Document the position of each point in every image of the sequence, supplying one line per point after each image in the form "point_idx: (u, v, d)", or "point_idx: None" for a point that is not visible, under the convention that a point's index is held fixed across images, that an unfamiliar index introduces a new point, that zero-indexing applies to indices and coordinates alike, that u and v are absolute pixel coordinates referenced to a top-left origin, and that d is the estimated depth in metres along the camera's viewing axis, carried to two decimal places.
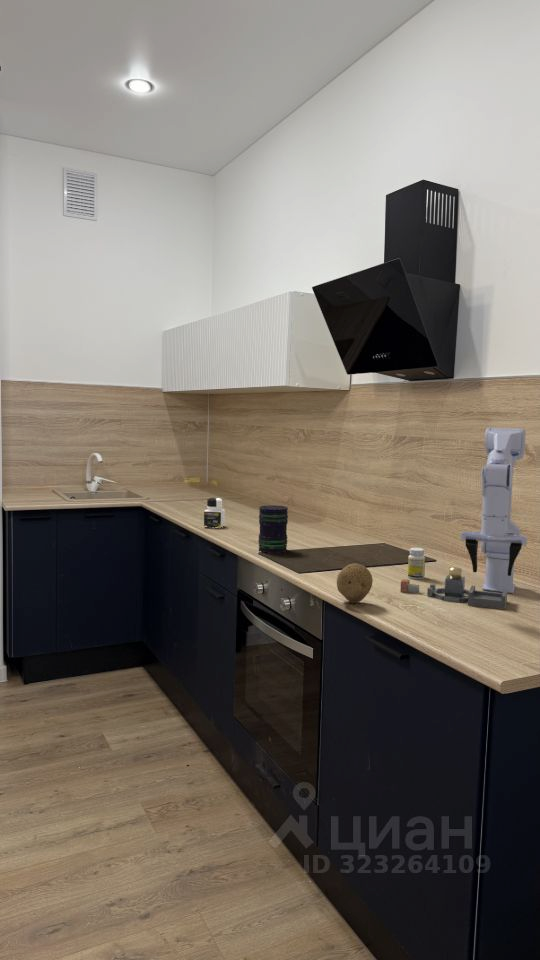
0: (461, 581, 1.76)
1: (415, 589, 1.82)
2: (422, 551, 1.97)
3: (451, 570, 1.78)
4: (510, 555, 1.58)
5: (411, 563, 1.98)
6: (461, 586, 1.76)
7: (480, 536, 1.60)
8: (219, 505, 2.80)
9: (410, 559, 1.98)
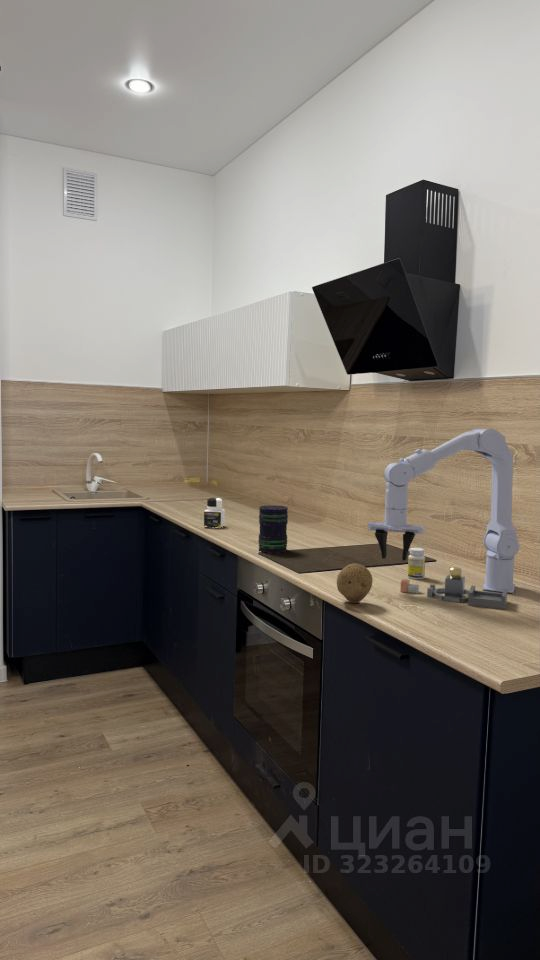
0: (461, 581, 1.76)
1: (415, 589, 1.82)
2: (422, 551, 1.97)
3: (451, 570, 1.78)
4: (404, 542, 1.81)
5: (411, 563, 1.98)
6: (461, 586, 1.76)
7: (383, 526, 1.82)
8: (219, 505, 2.80)
9: (410, 559, 1.98)
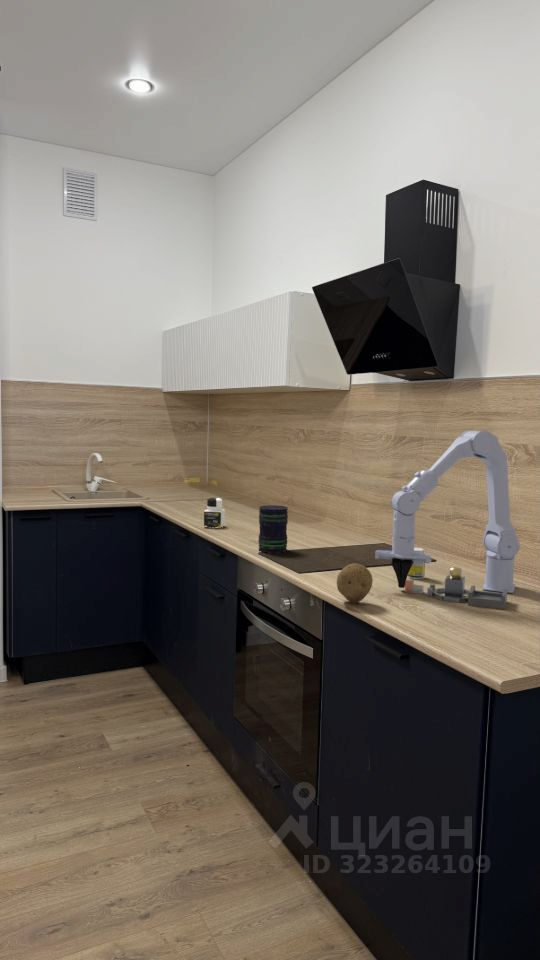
0: (461, 581, 1.76)
1: (420, 590, 1.81)
2: (422, 551, 1.97)
3: (451, 570, 1.78)
4: (402, 570, 1.82)
5: None
6: (461, 586, 1.76)
7: (390, 555, 1.82)
8: (219, 505, 2.80)
9: None
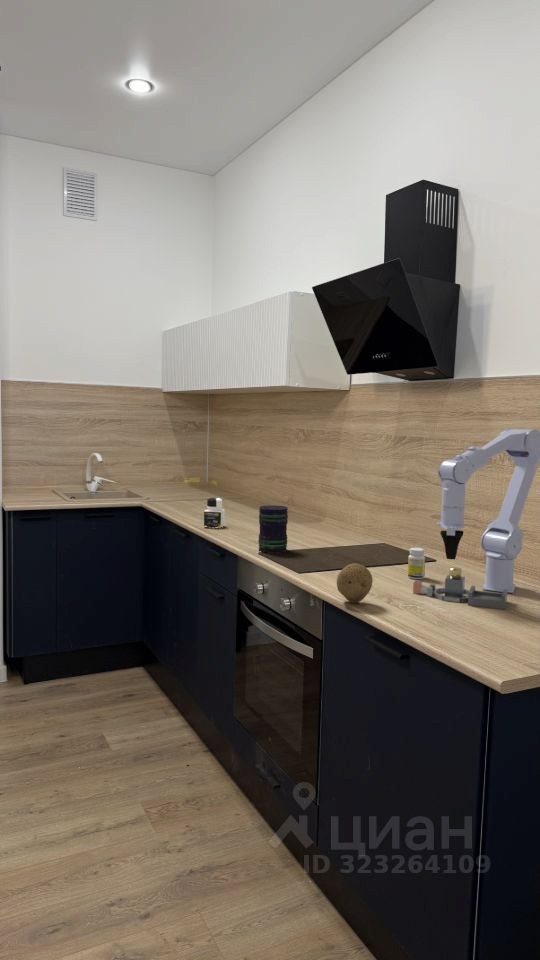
0: (461, 581, 1.76)
1: None
2: (422, 551, 1.97)
3: (451, 570, 1.78)
4: None
5: (411, 563, 1.98)
6: (461, 586, 1.76)
7: None
8: (219, 505, 2.80)
9: (410, 559, 1.98)
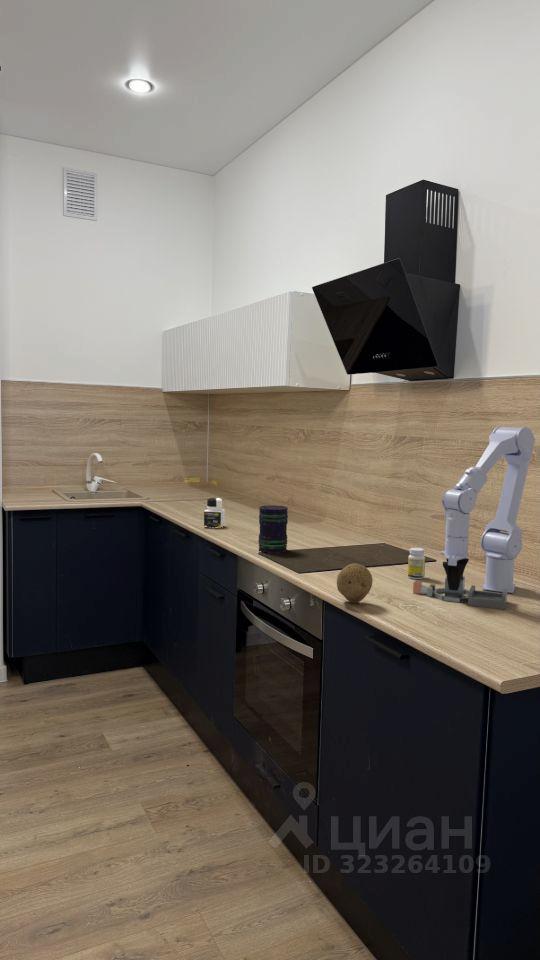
0: (461, 581, 1.76)
1: None
2: (422, 551, 1.97)
3: None
4: None
5: (411, 563, 1.98)
6: (461, 586, 1.76)
7: None
8: (219, 505, 2.80)
9: (410, 559, 1.98)
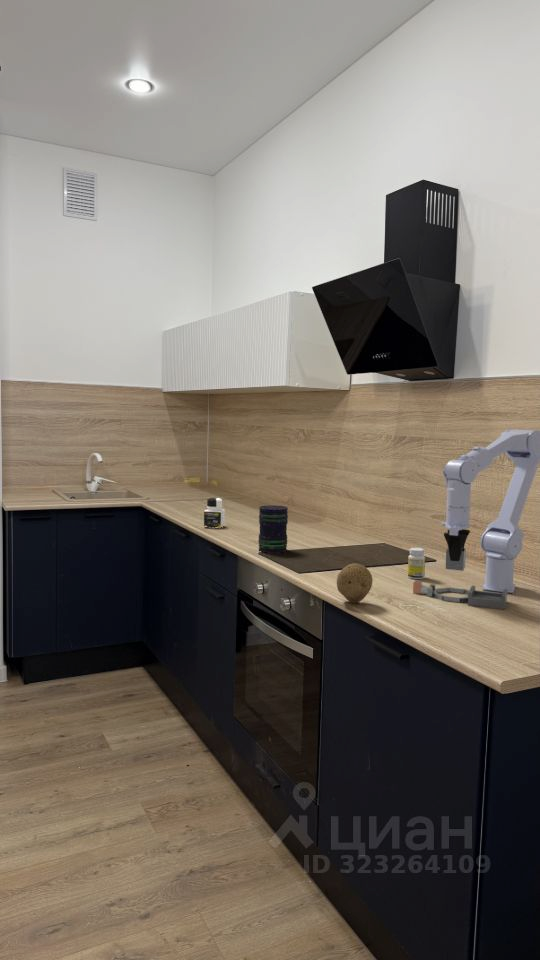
0: (462, 552, 1.75)
1: None
2: (422, 551, 1.97)
3: None
4: None
5: (411, 563, 1.98)
6: (462, 557, 1.75)
7: None
8: (219, 505, 2.80)
9: (410, 559, 1.98)
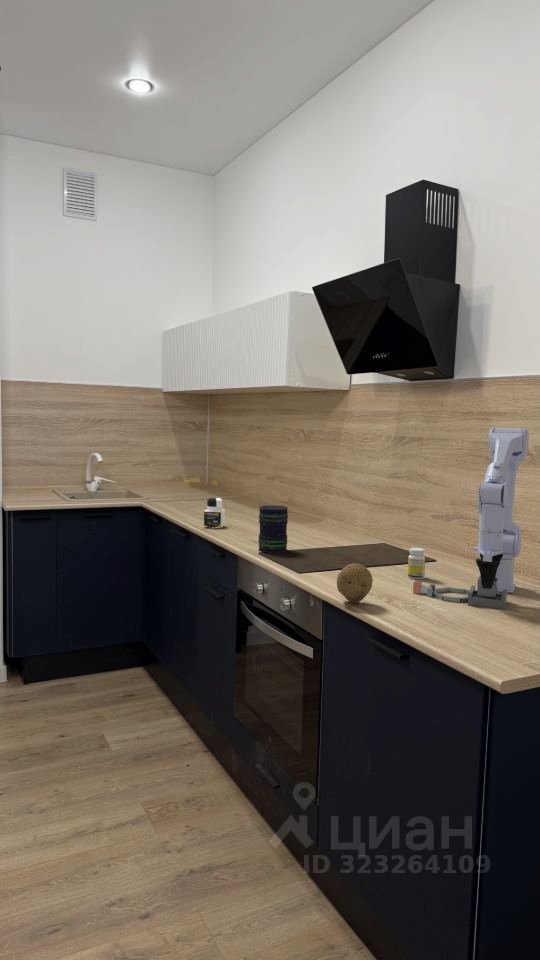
0: (494, 582, 1.70)
1: None
2: (422, 551, 1.97)
3: None
4: None
5: (411, 563, 1.98)
6: (494, 587, 1.70)
7: None
8: (219, 505, 2.80)
9: (410, 559, 1.98)
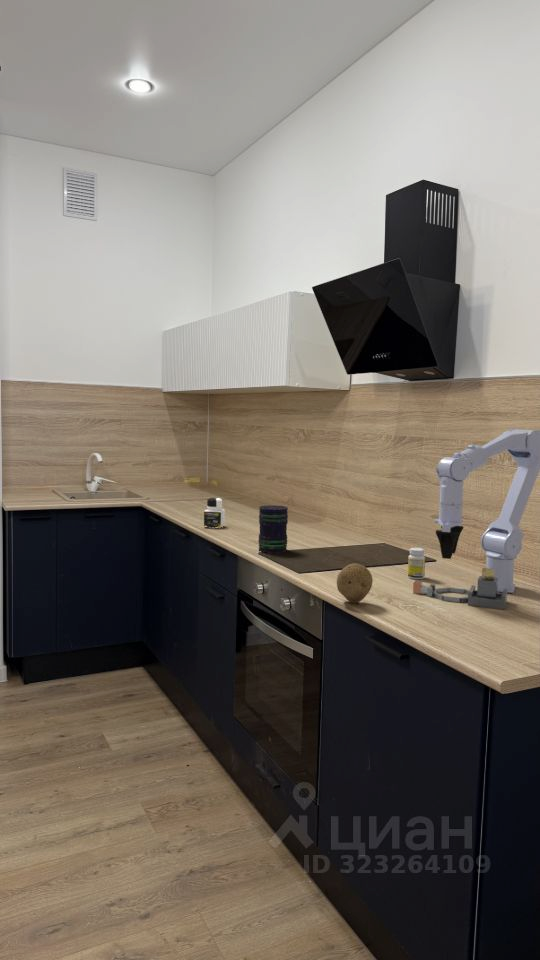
0: (494, 582, 1.70)
1: None
2: (422, 551, 1.97)
3: (484, 571, 1.72)
4: None
5: (411, 563, 1.98)
6: (494, 587, 1.70)
7: None
8: (219, 505, 2.80)
9: (410, 559, 1.98)
